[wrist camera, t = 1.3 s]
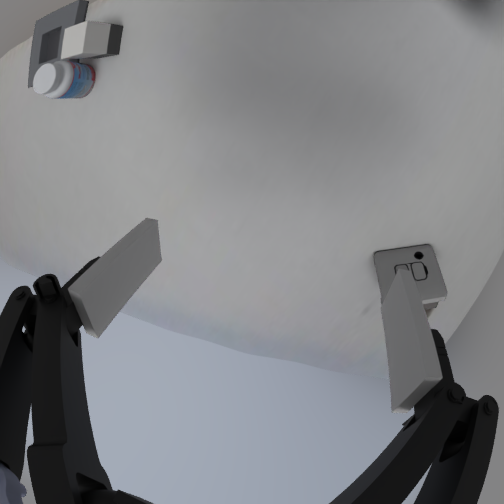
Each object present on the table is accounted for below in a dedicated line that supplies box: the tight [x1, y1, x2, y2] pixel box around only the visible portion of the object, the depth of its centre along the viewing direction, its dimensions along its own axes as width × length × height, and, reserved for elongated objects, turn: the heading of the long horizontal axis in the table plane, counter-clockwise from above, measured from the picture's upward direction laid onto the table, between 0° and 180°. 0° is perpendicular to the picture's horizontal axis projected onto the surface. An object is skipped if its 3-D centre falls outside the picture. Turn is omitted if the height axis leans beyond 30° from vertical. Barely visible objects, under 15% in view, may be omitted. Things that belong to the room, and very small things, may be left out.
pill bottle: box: [33, 60, 95, 99], centre depth 28 cm, size 6×6×11 cm
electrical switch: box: [374, 245, 447, 309], centre depth 34 cm, size 9×5×9 cm, turn 107°
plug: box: [61, 21, 123, 59], centre depth 25 cm, size 5×5×8 cm
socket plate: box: [28, 0, 89, 88], centre depth 28 cm, size 15×14×2 cm
